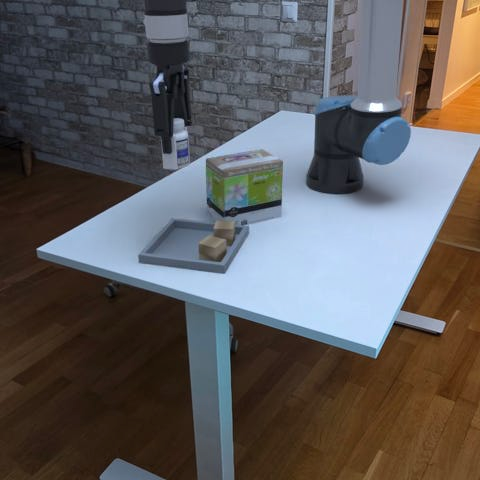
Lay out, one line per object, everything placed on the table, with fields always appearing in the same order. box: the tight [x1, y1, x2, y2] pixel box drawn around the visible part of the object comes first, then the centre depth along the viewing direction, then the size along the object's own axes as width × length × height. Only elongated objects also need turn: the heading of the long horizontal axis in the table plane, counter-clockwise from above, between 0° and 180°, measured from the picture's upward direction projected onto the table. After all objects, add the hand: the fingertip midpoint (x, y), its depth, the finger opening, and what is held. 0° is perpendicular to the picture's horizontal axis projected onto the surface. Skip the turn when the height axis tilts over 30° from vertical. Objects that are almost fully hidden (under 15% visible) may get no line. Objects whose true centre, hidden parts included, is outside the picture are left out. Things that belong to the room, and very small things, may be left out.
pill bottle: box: [173, 118, 191, 170], centre depth 110 cm, size 5×5×9 cm
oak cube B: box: [198, 235, 227, 262], centre depth 113 cm, size 4×4×4 cm
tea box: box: [205, 148, 284, 226], centre depth 130 cm, size 15×10×15 cm, turn 117°
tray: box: [137, 217, 250, 275], centre depth 118 cm, size 18×18×2 cm
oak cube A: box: [214, 220, 235, 246], centre depth 120 cm, size 4×4×4 cm
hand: (176, 163), depth 111 cm, fingers closed on pill bottle, 5 cm apart
